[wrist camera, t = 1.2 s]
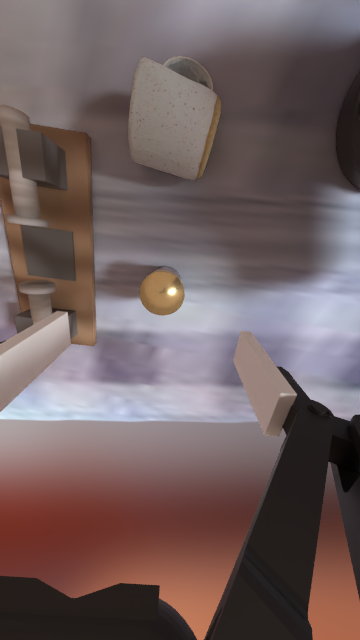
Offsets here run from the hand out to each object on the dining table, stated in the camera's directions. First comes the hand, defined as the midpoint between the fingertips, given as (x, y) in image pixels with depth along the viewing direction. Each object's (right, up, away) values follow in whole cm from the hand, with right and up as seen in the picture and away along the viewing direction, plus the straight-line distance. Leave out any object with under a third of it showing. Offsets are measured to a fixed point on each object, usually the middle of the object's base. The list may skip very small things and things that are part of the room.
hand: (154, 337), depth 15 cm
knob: (0, +7, +15) cm, 17 cm away
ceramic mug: (+1, +24, +9) cm, 25 cm away
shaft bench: (-16, +11, +13) cm, 24 cm away
